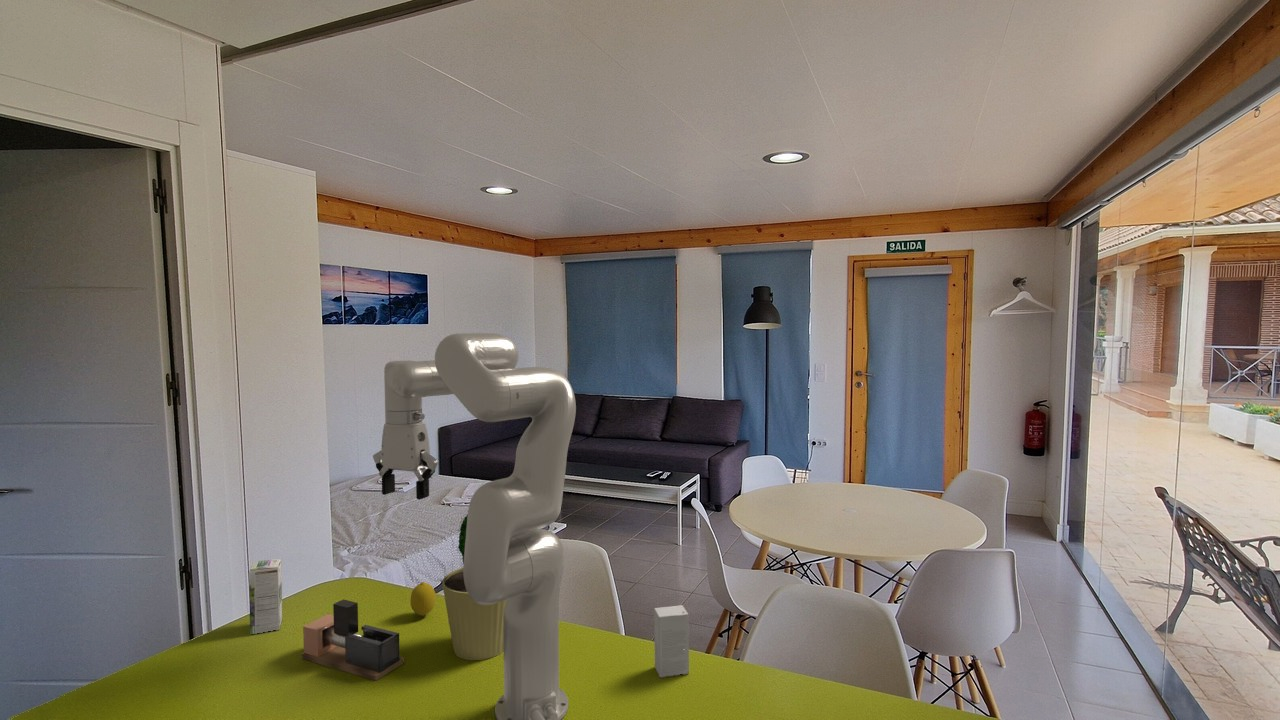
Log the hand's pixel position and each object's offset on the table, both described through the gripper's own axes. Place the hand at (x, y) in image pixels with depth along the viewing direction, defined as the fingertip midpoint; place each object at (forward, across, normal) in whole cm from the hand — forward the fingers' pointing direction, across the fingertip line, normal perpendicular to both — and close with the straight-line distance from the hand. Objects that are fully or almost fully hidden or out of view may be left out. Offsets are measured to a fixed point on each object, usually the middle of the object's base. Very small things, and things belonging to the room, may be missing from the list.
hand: (405, 495), depth 136 cm
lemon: (+31, +2, -7) cm, 31 cm away
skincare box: (+31, -59, -8) cm, 67 cm away
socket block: (+30, +9, +14) cm, 35 cm away
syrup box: (+31, +30, +11) cm, 44 cm away
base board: (+30, +1, +14) cm, 33 cm away
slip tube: (+28, +5, +14) cm, 31 cm away
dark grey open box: (+30, -4, +14) cm, 34 cm away
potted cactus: (+31, -19, -1) cm, 36 cm away
